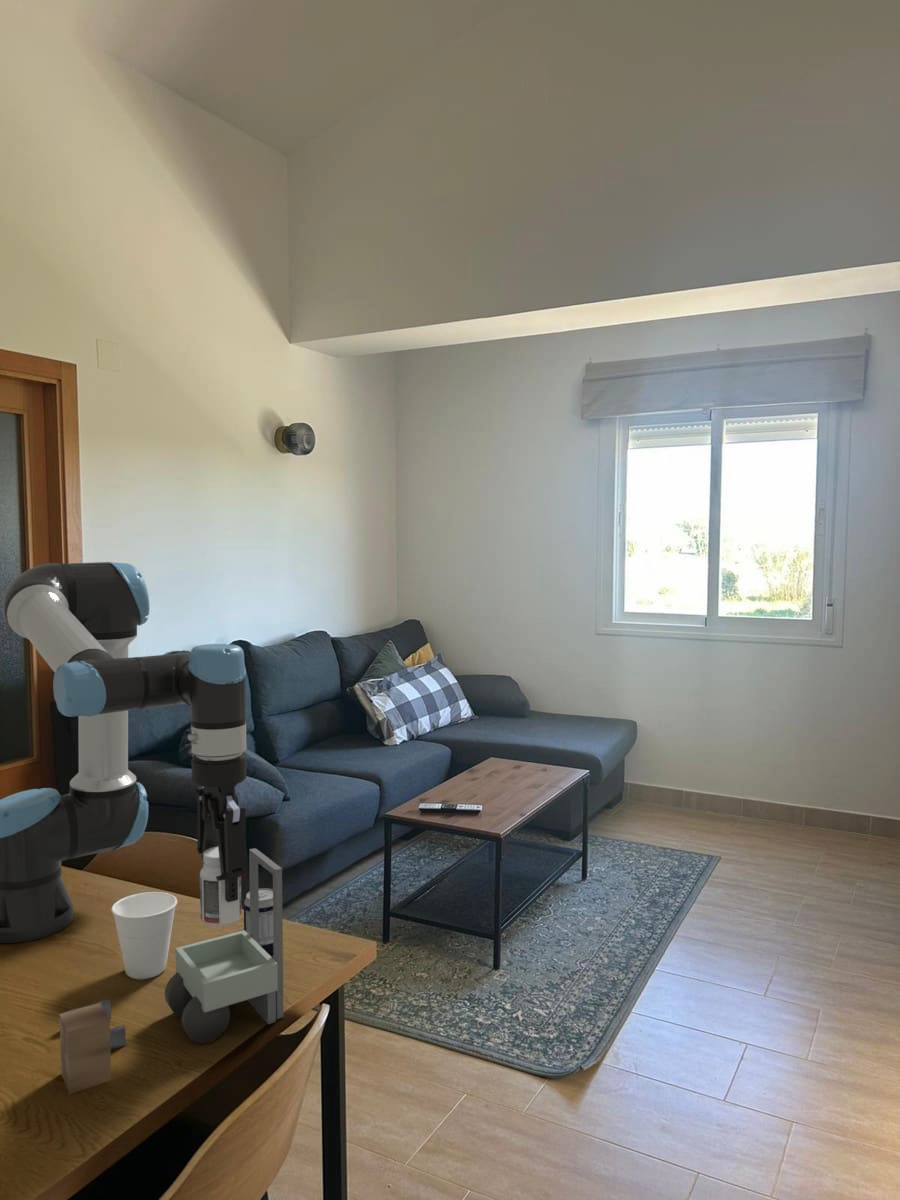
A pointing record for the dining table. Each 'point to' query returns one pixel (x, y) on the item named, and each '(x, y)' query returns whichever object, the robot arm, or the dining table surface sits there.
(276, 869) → the trolley
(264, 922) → the cylindrical canister
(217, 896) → the pill bottle
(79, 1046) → the brown rectangular block
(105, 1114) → the dining table surface
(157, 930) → the cup
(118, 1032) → the grey blocks
